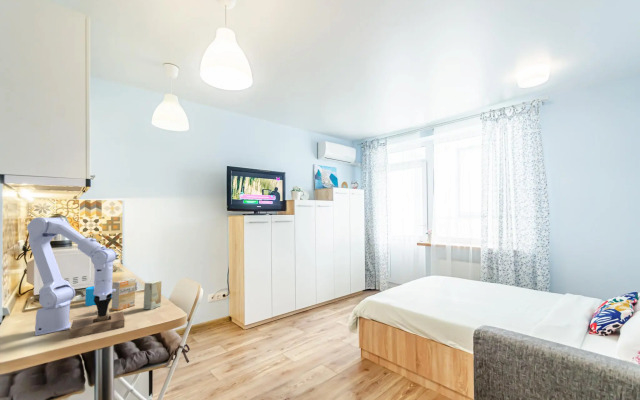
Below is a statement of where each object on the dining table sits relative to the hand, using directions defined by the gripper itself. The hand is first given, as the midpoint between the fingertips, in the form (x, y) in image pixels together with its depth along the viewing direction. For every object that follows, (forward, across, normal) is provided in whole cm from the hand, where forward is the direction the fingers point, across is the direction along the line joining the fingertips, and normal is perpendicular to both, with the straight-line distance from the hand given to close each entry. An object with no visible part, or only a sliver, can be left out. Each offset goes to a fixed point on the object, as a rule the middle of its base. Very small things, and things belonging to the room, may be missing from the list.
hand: (102, 314), depth 110 cm
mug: (+5, +43, +1) cm, 43 cm away
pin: (+2, 0, 0) cm, 3 cm away
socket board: (+5, 0, +1) cm, 5 cm away
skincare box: (+5, +15, -19) cm, 25 cm away
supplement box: (+5, +24, -8) cm, 26 cm away
